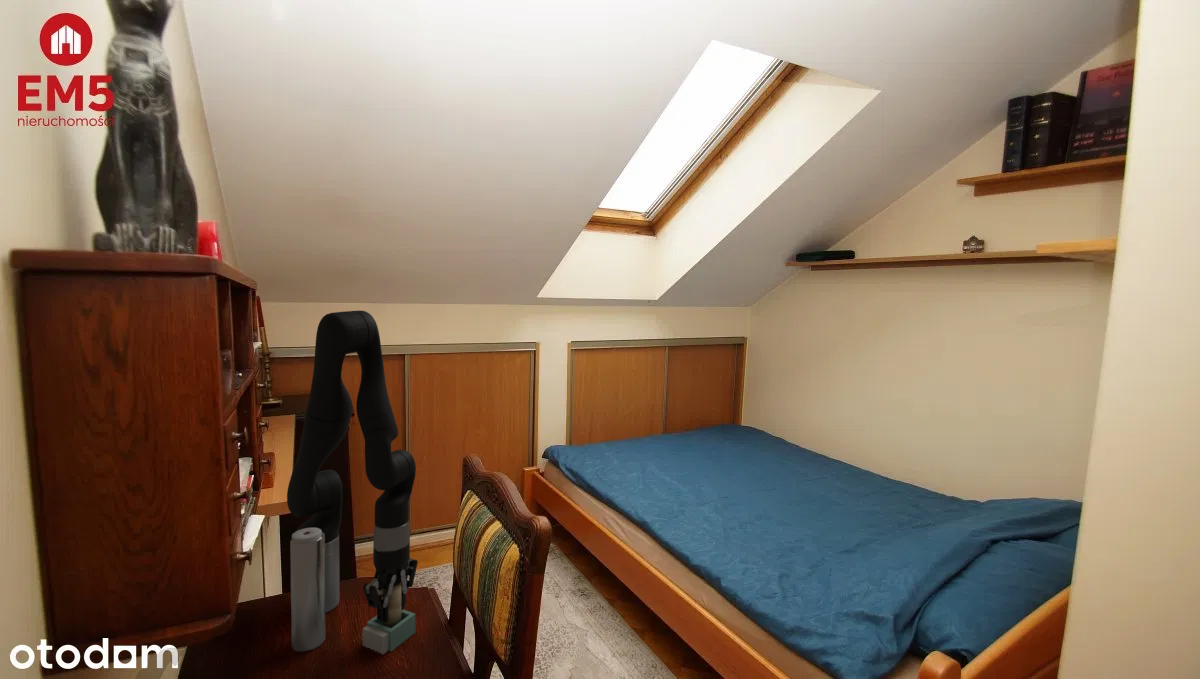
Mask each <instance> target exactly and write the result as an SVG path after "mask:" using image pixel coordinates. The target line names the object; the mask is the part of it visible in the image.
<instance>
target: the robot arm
mask: <svg viewBox="0 0 1200 679" xmlns="http://www.w3.org/2000/svg"><path fill="white" fill-rule="evenodd" d="M381 344H382V343H381V337H380V331H379V328H378V325H377V321H376V320H375V318H374V317H373V315H372V314H371V313H369V312H368V311H366V310H349V311H348V310H347V311H335V312H329V313H326V314H325V315H323V316H322V318H320V320H319V323H318V325H317V329H316V336H315V344H314V346H315V348H314V360H313V361H314V362H313V372H312V379H311V386H310V392H309V395H308V396H309V397H308V401H307V402H308V403H307V406H306V410H305V414H304V420H303V427H302V428H303V429H302V433H301V439H300V444H299V449H298V452H297V457H296V460H295V464H294V466H293V469H292V473H291V475H290V478H289V483H288V487H287V491H286V502H287V503H286V504H287V507H288V511H289V512H290V513H291V515H293V516H295V517H298V518H299V517H306V516H310V515H312V516H310V518H309V519H308V520H306V521H305V522H303V523H302V524H301V525H299V527H297V529H296V531H298V530H301V529H305V528H319V529H321V531H322V532H324V534H325V614H326V613H328V612H331V611H332V610H333V609H335V608H336V607H337V606H338V605H339V602H340V528H341V525H342V514H343V513H342V510H343V493H344V492H343V483H342V480H341V477H340V475H339V474H338V472H337V471H336V470H334V469H324V470H321V471H320V469H321V467H322V466H323V464H324V462H326V460H327V459H328V457H330V456H331V454H332V453H333V452H334V450H335V449H337V447H338V446H339V445H340V444H341V442H342V441H343V440H344V438H345V437H346V435H347V432H348V431H349V426H350V422H351V417H352V412H353V402H352V401H353V400H352V398H351V396H350V393H349V392H348V390H347V388H346V386H345V384H344V382H343V379H342V371H343V364H344V361H345V357H346V355H349V354H350V355H351V354H355V353H356V355H357V357H358V359H359V363H360V370H361V374H360V375H361V376H360V384H359V388H358V392H357V397H356V406H355V407H356V415H357V418H358V419H357V420H358V423H359V426H360V429H361V432H362V436H363V439H364V463H365V464H364V465H365V467H364V468H365V475H366V478H367V479H368V481H369V483H370V484H371V485H372V486H373V488H375V489H377V490H379V491H383V492H382V493H381V494H380V495H379V497H378V498H377V499H376V500H375V503H374V530H373V536H372V538H373V542H372V543H373V544H372V545H373V546H372V547H373V548H372V549H373V552H372V554H373V557H372V559H373V560H372V563H373V565H374V569H375V573H374V576H373V579H372V580H371V581H370V582H369V583H367V582H366V583H365V584H363V586H362V590H363V592H364V595H365V599H366V601H367V604H368V606H369V607H371V608H374V609H376V616H377V619H378V620H379V621H381V622H383V623H385V622H387V621H388V605H387V604H388V599H389V596H390V595H391V594H392V589H393V587H394V586H395V585H398V584H399V583H400V582H401V611H402V610H403V609H404V610H405V607H406V603H407V602H406V599H407V598H406V595H407V592H408V589H409V588H412V587H413V586H414V581H415V577H416V572H417V568H418V563H419V562H418V559H414V558H411V556H410V554H411V550H410V549H411V543H410V542H411V529H410V528H411V527H410V521H409V520H410V519H409V518H410V517H409V516H410V515H409V514H410V509H409V508H410V507H409V505H410V498H411V495H412V492H413V487H414V483H415V479H416V475H417V474H416V473H417V466H416V461H415V458H414V456H413V455H412V453H411V452H410V451H409V450H406V449H395V450H394V451H392V443H393V441H394V440H396V439H397V437H398V435H399V429H398V428H399V427H398V426H397V422H396V418H395V414H394V412H393V409H392V405H391V401H390V398H389V393H388V389H387V383H386V375H385V374H386V373H385V364H384V358H383V352H382V345H381ZM408 577H409V578H408ZM382 588H384V589H387V591H384V590H383V589H382ZM382 595H383V600H382Z"/></svg>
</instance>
